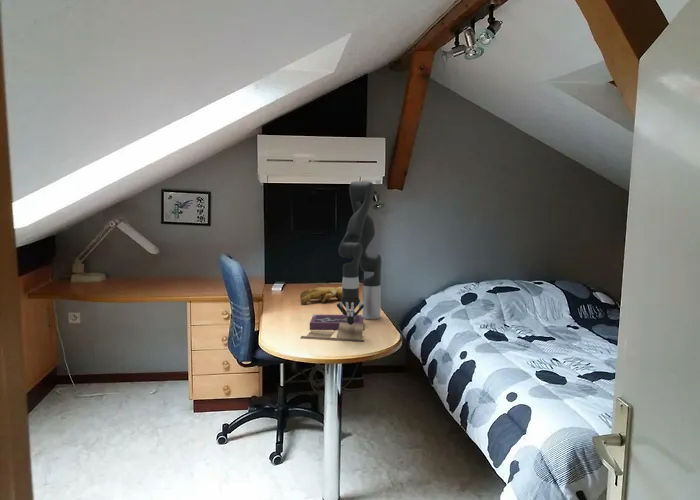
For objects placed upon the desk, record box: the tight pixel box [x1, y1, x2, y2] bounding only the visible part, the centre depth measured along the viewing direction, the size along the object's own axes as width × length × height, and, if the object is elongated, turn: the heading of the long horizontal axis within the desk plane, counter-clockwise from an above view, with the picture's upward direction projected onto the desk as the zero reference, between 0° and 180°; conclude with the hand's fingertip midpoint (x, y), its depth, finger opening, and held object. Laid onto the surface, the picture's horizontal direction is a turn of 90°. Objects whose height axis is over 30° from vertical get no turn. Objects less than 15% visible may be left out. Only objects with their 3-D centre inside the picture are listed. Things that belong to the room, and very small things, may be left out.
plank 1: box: [306, 330, 335, 338], centre depth 248 cm, size 9×11×1 cm
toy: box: [300, 285, 342, 305], centre depth 320 cm, size 14×9×30 cm
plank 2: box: [335, 323, 365, 339], centre depth 244 cm, size 9×11×1 cm
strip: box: [299, 335, 365, 343], centre depth 241 cm, size 3×29×2 cm, turn 78°
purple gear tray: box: [309, 313, 365, 331], centre depth 264 cm, size 25×16×5 cm, turn 88°
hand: (350, 324), depth 245 cm, fingers closed
